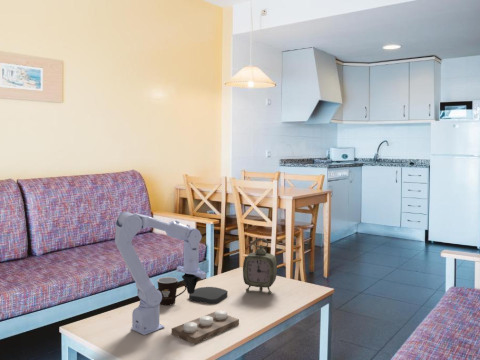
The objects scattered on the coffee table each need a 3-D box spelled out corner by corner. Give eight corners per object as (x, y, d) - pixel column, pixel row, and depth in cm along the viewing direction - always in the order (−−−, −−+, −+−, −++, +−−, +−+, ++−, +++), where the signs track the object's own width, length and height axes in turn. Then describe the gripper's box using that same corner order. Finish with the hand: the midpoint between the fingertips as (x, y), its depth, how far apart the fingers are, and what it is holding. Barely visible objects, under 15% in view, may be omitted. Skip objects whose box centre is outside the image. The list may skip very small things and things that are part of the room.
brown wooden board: (194, 344, 152) (194, 338, 152) (171, 333, 159) (171, 328, 159) (238, 324, 169) (238, 319, 169) (215, 316, 177) (216, 311, 177)
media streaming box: (214, 305, 189) (214, 298, 189) (185, 300, 196) (185, 293, 196) (230, 295, 203) (230, 289, 202) (202, 290, 209) (202, 284, 209)
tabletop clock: (242, 292, 206) (243, 239, 204) (247, 287, 214) (248, 235, 213) (273, 296, 202) (274, 241, 200) (277, 290, 210) (278, 238, 208)
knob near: (189, 339, 155) (190, 328, 155) (180, 335, 158) (180, 324, 158) (199, 335, 158) (199, 324, 158) (190, 331, 162) (190, 321, 161)
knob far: (221, 325, 167) (221, 315, 167) (212, 322, 170) (212, 312, 170) (229, 322, 171) (230, 312, 170) (220, 318, 174) (220, 309, 173)
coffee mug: (153, 304, 189) (153, 281, 188) (165, 298, 197) (165, 276, 196) (175, 309, 184) (175, 285, 183) (187, 302, 191) (187, 280, 191)
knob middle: (206, 332, 161) (206, 322, 161) (196, 328, 164) (197, 318, 164) (215, 328, 165) (215, 318, 164) (206, 324, 168) (206, 314, 167)
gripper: (212, 259, 170) (211, 294, 171) (186, 253, 179) (185, 286, 180) (198, 263, 165) (198, 299, 166) (172, 256, 174) (172, 290, 175)
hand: (190, 293), depth 173 cm, fingers closed
